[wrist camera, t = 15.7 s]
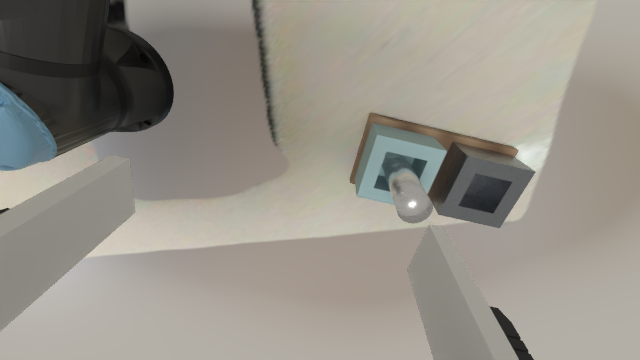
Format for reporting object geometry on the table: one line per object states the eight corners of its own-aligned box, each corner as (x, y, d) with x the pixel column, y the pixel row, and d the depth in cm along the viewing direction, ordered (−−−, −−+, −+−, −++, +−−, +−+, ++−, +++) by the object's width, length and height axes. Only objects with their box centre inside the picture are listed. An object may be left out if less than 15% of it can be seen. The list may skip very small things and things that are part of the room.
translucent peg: (377, 169, 46) (392, 219, 34) (385, 147, 45) (404, 190, 32) (401, 174, 47) (424, 226, 34) (409, 152, 45) (438, 198, 32)
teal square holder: (354, 178, 49) (356, 196, 43) (372, 122, 44) (377, 134, 39) (410, 191, 49) (419, 210, 44) (434, 137, 45) (447, 151, 39)
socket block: (427, 194, 49) (438, 214, 44) (452, 141, 45) (467, 155, 39) (482, 207, 50) (499, 228, 44) (512, 155, 45) (535, 171, 40)
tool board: (349, 179, 50) (350, 182, 49) (370, 113, 45) (371, 115, 44) (478, 207, 52) (482, 212, 50) (513, 147, 46) (518, 150, 45)
